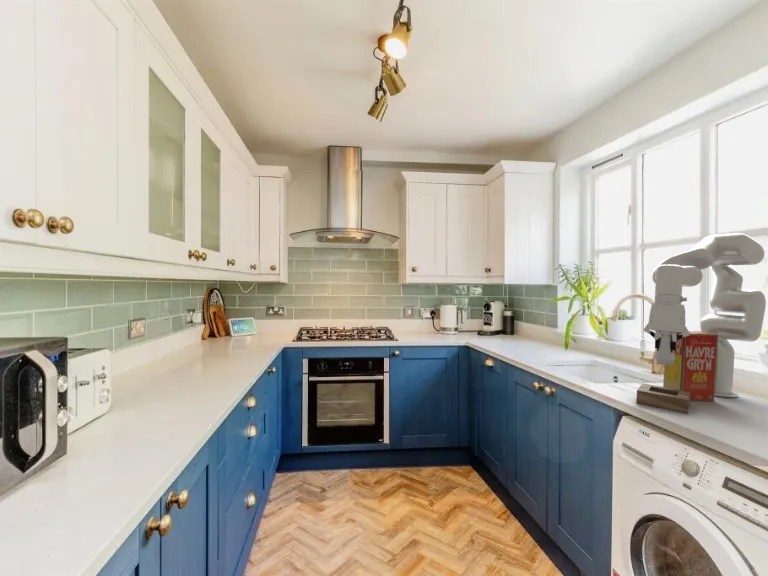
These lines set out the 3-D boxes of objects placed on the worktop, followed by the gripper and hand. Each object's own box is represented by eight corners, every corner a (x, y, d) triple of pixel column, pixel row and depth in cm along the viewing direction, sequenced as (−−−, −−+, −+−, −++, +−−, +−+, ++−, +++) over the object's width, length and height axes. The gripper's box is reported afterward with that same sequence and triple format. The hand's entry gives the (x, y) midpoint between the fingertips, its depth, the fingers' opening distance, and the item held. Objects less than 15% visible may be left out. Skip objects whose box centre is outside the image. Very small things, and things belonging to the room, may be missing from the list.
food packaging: (680, 400, 136) (684, 332, 135) (661, 393, 145) (664, 329, 145) (716, 401, 136) (719, 334, 136) (694, 394, 145) (697, 330, 145)
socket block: (642, 396, 141) (642, 383, 141) (689, 405, 131) (690, 391, 131) (636, 404, 130) (636, 390, 130) (687, 415, 121) (688, 399, 121)
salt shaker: (678, 366, 127) (680, 329, 127) (659, 365, 128) (661, 328, 128) (669, 363, 133) (671, 327, 133) (651, 362, 134) (653, 326, 134)
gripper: (698, 301, 128) (695, 354, 128) (641, 298, 139) (638, 347, 139) (697, 301, 122) (694, 356, 122) (638, 298, 133) (635, 349, 133)
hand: (665, 351), depth 130 cm, fingers closed on salt shaker, 3 cm apart
